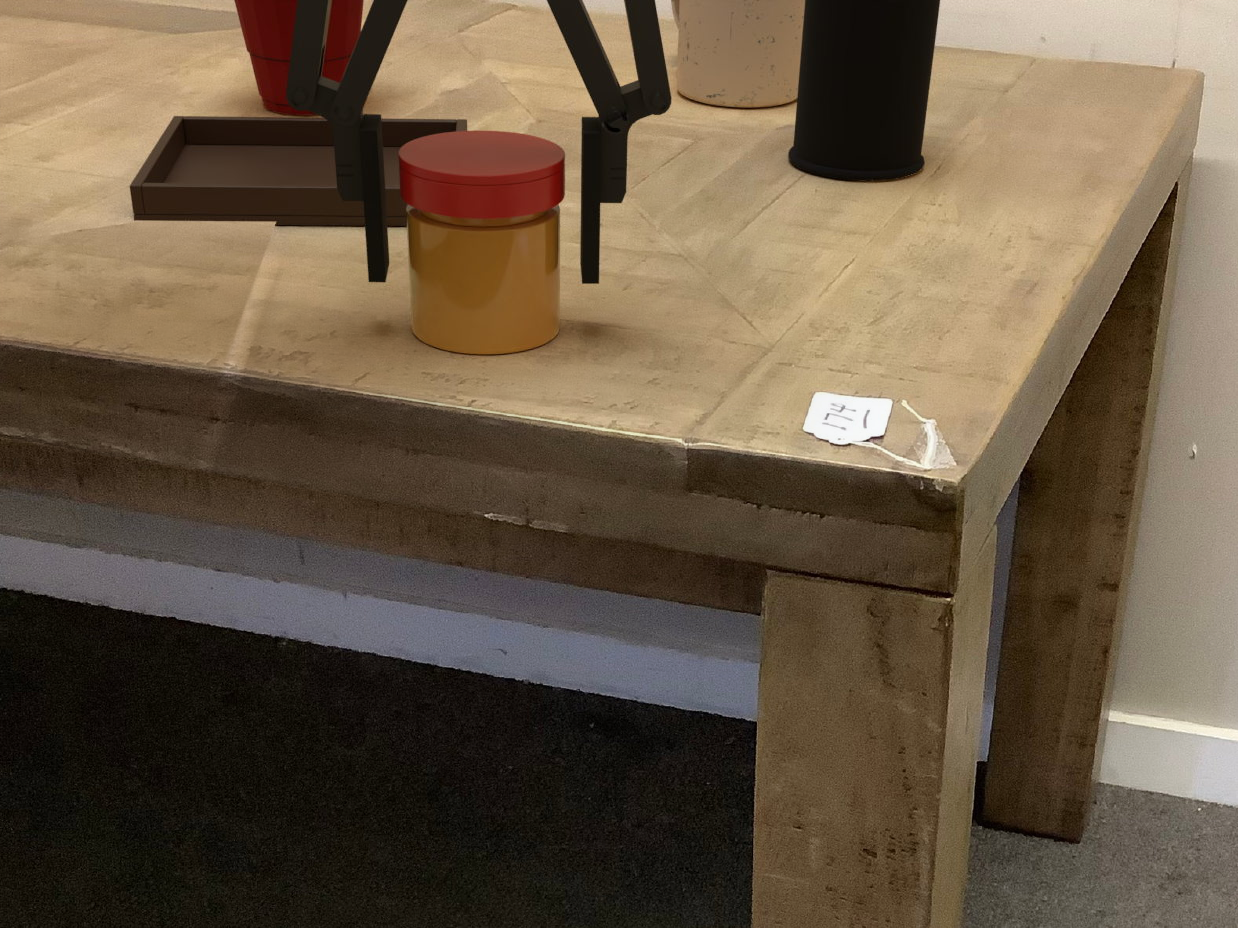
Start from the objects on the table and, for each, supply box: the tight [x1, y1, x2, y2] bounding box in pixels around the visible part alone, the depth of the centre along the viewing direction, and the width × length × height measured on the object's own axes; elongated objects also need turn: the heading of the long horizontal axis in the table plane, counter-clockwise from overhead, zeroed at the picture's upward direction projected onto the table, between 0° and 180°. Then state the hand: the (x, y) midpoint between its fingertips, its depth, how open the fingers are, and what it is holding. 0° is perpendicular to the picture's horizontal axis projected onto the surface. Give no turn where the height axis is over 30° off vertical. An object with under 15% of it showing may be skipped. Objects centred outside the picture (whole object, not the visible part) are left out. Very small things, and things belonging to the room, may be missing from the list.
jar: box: [406, 204, 561, 355], centre depth 75 cm, size 7×7×7 cm
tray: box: [129, 115, 468, 227], centre depth 94 cm, size 17×14×2 cm
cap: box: [398, 130, 566, 219], centre depth 73 cm, size 7×7×2 cm
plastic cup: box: [233, 0, 364, 116], centre depth 106 cm, size 11×11×12 cm
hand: (484, 272), depth 76 cm, fingers open, 9 cm apart
